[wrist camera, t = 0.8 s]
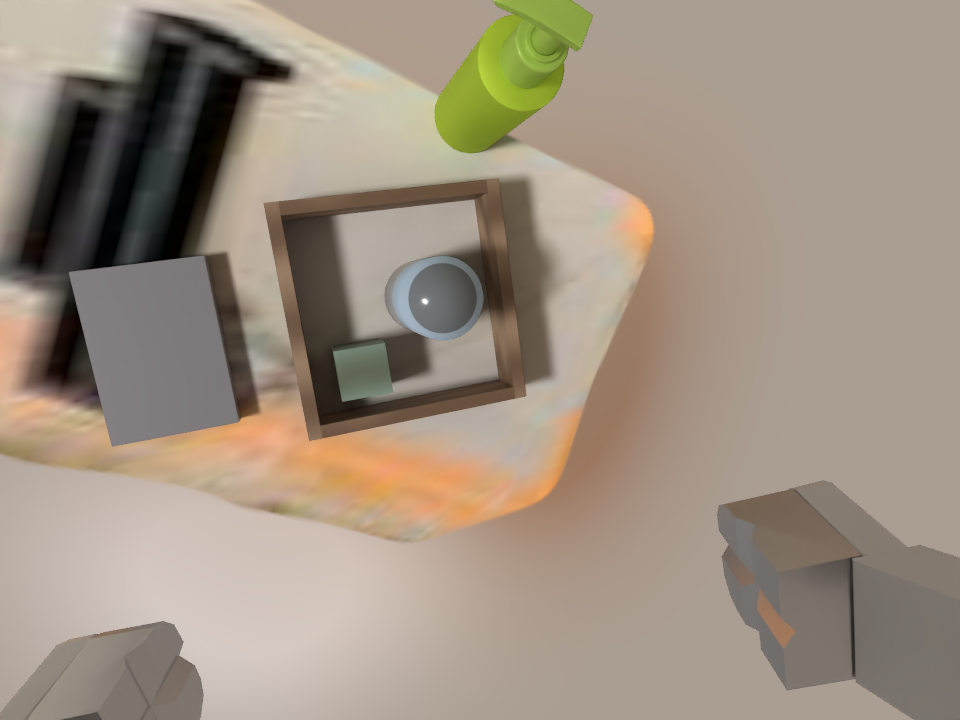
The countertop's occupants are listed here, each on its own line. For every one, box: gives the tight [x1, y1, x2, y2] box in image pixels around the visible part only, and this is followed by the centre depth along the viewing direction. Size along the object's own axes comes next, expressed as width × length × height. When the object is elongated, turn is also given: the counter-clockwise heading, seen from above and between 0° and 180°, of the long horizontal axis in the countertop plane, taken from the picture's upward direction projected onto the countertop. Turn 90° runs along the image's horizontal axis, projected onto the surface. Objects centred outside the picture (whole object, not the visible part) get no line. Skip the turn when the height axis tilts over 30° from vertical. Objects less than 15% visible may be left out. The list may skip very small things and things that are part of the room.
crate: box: [264, 178, 526, 441], centre depth 49 cm, size 18×18×4 cm
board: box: [69, 256, 241, 447], centre depth 46 cm, size 13×9×2 cm
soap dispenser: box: [435, 0, 593, 153], centre depth 41 cm, size 6×7×20 cm
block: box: [332, 339, 393, 402], centre depth 49 cm, size 4×4×4 cm
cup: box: [385, 256, 483, 340], centre depth 47 cm, size 6×6×9 cm
